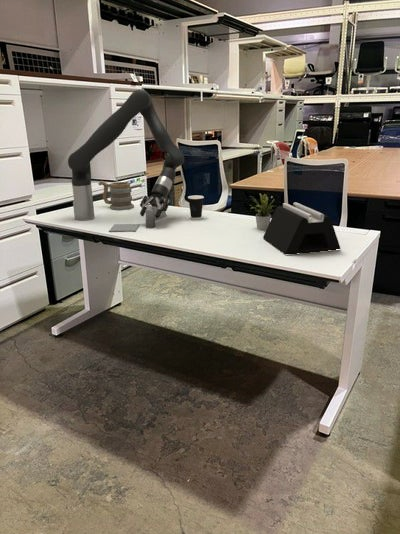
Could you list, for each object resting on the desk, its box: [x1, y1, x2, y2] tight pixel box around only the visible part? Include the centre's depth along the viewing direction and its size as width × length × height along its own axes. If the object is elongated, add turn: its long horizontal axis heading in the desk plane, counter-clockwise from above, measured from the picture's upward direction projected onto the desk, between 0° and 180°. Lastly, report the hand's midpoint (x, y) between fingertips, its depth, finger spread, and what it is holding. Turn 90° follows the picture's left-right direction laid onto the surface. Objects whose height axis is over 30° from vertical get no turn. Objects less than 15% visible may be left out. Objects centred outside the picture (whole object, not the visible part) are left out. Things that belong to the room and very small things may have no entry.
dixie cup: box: [187, 195, 205, 221], centre depth 208 cm, size 8×8×11 cm
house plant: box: [249, 193, 276, 231], centre depth 188 cm, size 14×14×16 cm
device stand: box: [262, 201, 341, 255], centre depth 164 cm, size 22×22×15 cm
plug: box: [144, 205, 157, 229], centre depth 194 cm, size 4×4×10 cm
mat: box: [108, 223, 140, 233], centre depth 194 cm, size 12×12×1 cm
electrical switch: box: [148, 203, 167, 221], centre depth 212 cm, size 9×5×9 cm, turn 152°
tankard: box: [98, 180, 135, 211], centre depth 236 cm, size 20×13×15 cm, turn 69°
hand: (148, 216), depth 193 cm, fingers open, 8 cm apart
